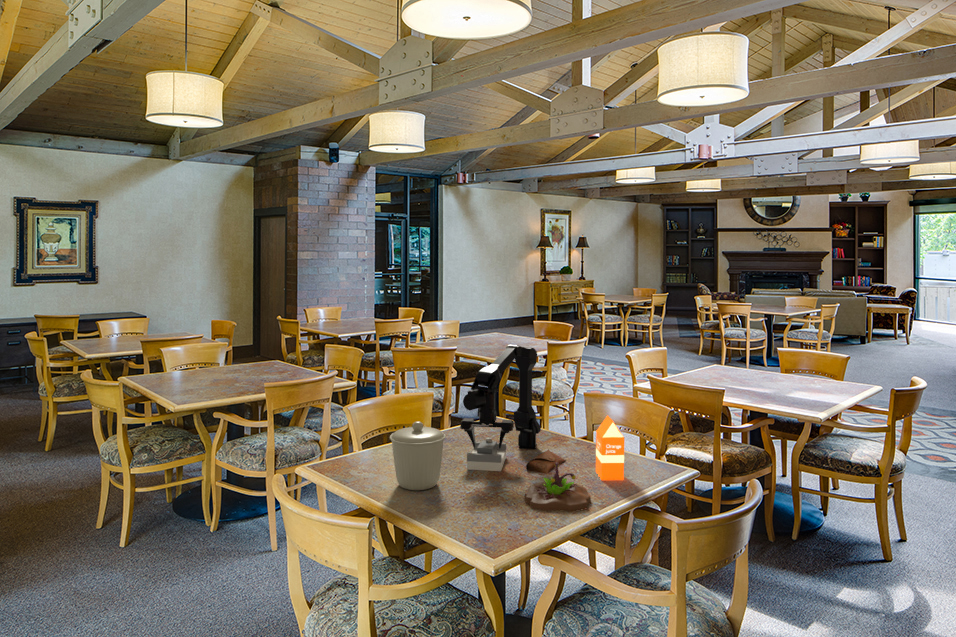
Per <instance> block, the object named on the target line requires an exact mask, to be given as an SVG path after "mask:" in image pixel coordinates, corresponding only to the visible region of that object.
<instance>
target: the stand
mask: <svg viewBox="0 0 956 637" xmlns="http://www.w3.org/2000/svg"><path fill="white" fill-rule="evenodd" d="M480 443H481V441H475V448H474V447H473V450H472V452H467V453H466V470H468V471H469V470H470V471H485V472H487V471H488V472H502V469H503V467H504V464H505V461H506V459H507V442H502V445H501V448H500V449H499V442H497V452H496V454H479V453H477V447H478V446H479V444H480Z"/></svg>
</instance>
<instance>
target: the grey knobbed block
mask: <svg viewBox="0 0 956 637" xmlns="http://www.w3.org/2000/svg"><path fill="white" fill-rule="evenodd" d="M480 442H481V443H480V444H479V446H478V447H477V453H479V454H496V452H497V443H498V441H497V440H493V438H492V437H485V439H482V440H481V441H480Z"/></svg>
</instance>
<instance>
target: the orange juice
mask: <svg viewBox="0 0 956 637" xmlns="http://www.w3.org/2000/svg"><path fill="white" fill-rule="evenodd" d="M595 432H596V434H595V437H596V438H595V473H596V474H598V475H597V476H598V478H599V477H600V478H599V480H601V481H624V479H625V476H624V475H625V469H624V468H625V437H624V435H623V434H622V433H621V431H620V429H619V428H618V426H617V425H616V424H615V422H614V420H613V419H612V418H611V417H610V416H609V415H606V417H605V418H604V419H603V421H602V422H601V423H600V425H599V426H598V428H597V429H596V430H595Z"/></svg>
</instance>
